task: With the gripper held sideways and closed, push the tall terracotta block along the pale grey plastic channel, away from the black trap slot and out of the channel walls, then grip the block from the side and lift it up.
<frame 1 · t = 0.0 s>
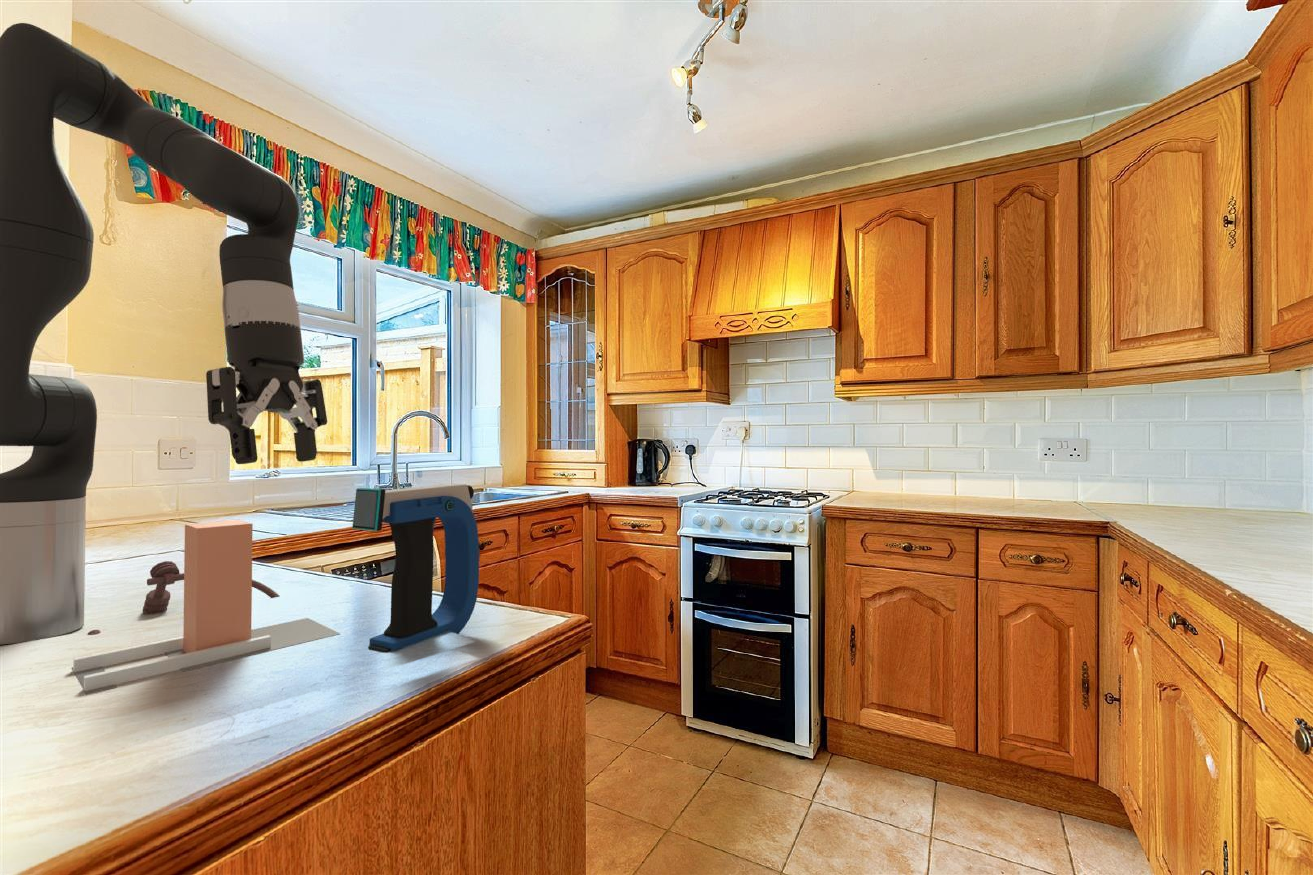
hand: (278, 462, 68), 22 cm above the counter, tool pointing down, fingers open, 8 cm apart
handheld scanner: (421, 648, 70), on the counter
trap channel: (227, 660, 65), on the counter
terracotta block: (217, 649, 64), point 1 cm above the counter, touching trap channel
toilet paper hanger: (179, 622, 81), on the counter
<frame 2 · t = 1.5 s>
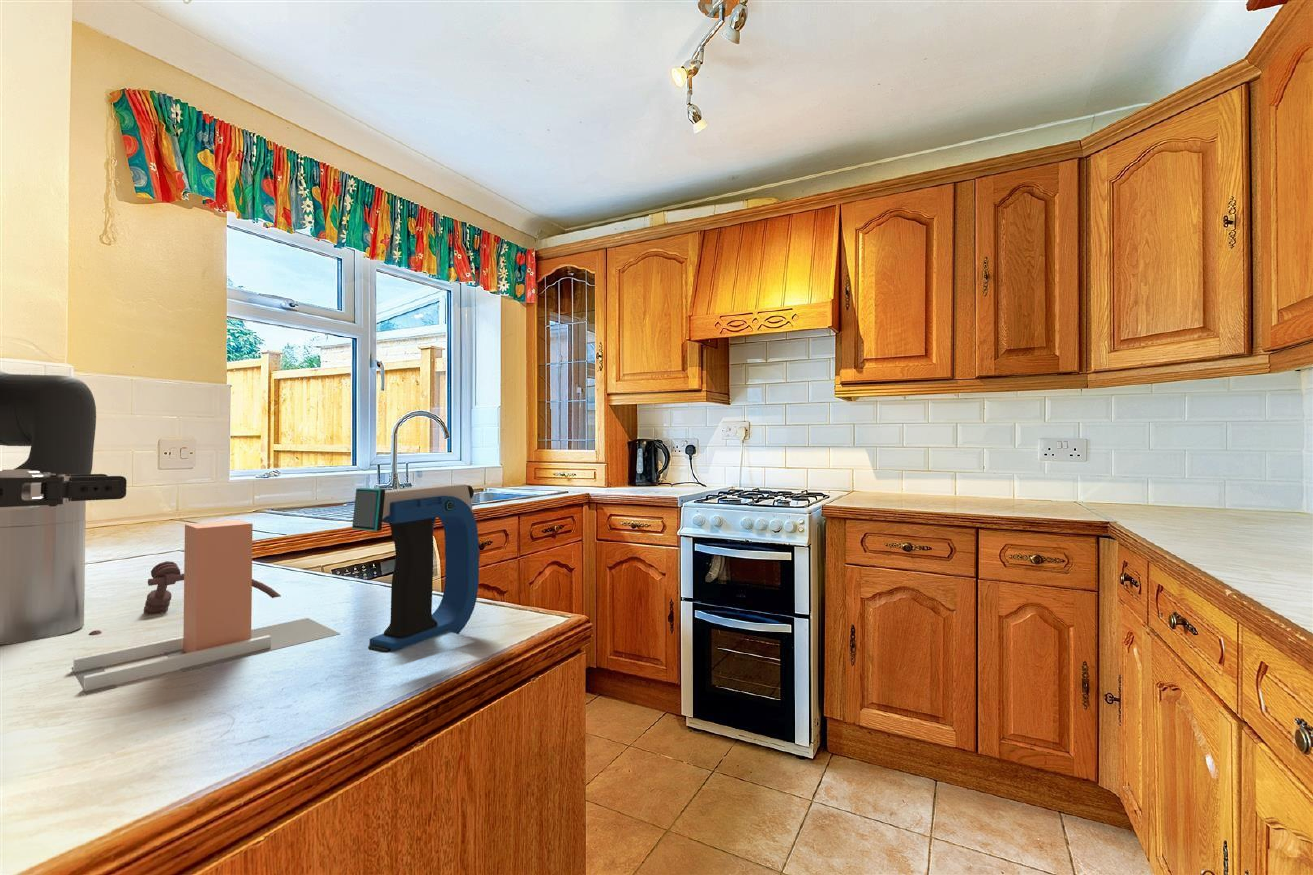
hand: (116, 485, 58), 20 cm above the counter, tool horizontal, fingers open, 8 cm apart
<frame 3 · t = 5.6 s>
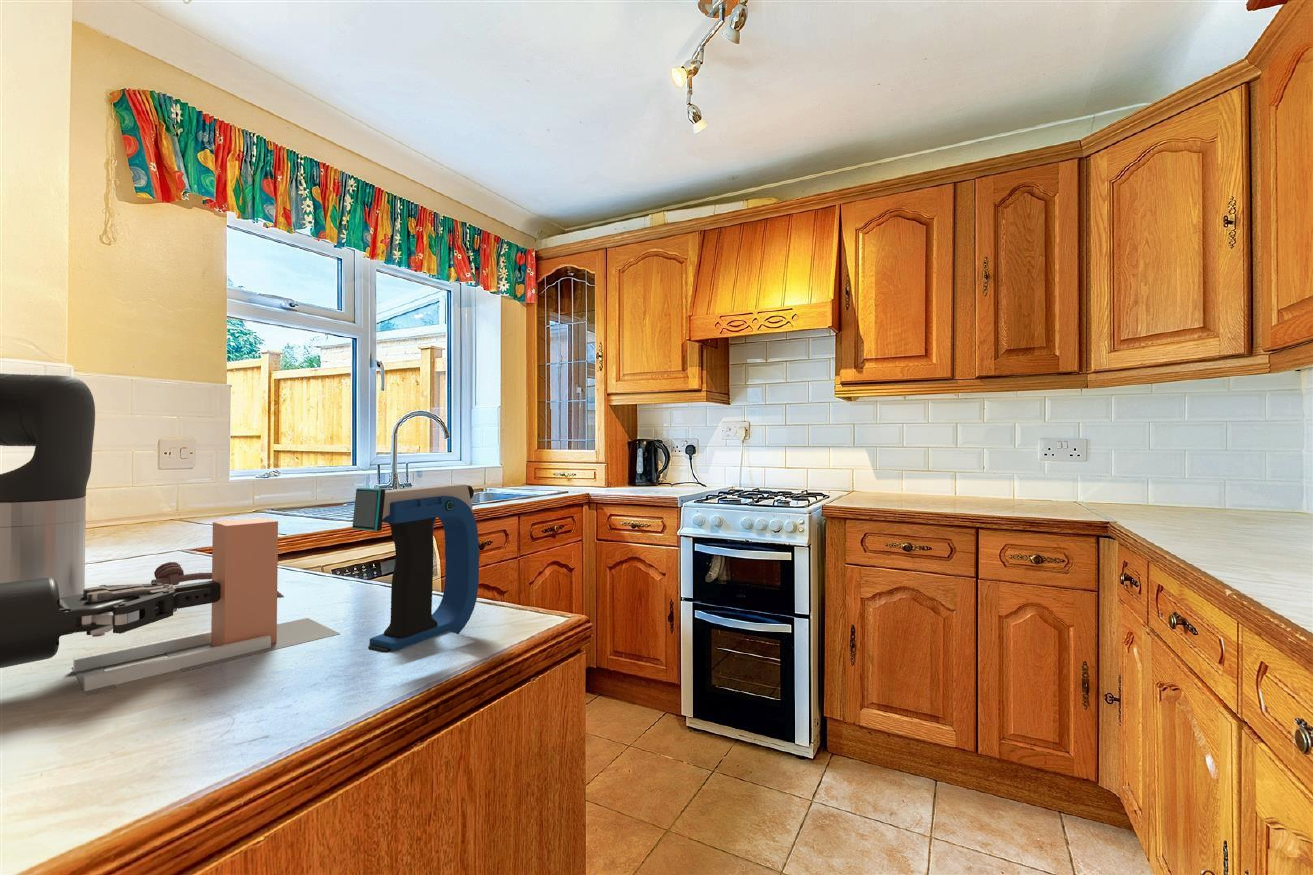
hand: (218, 590, 65), 8 cm above the counter, tool horizontal, fingers closed
terracotta block: (244, 643, 66), point 2 cm above the counter
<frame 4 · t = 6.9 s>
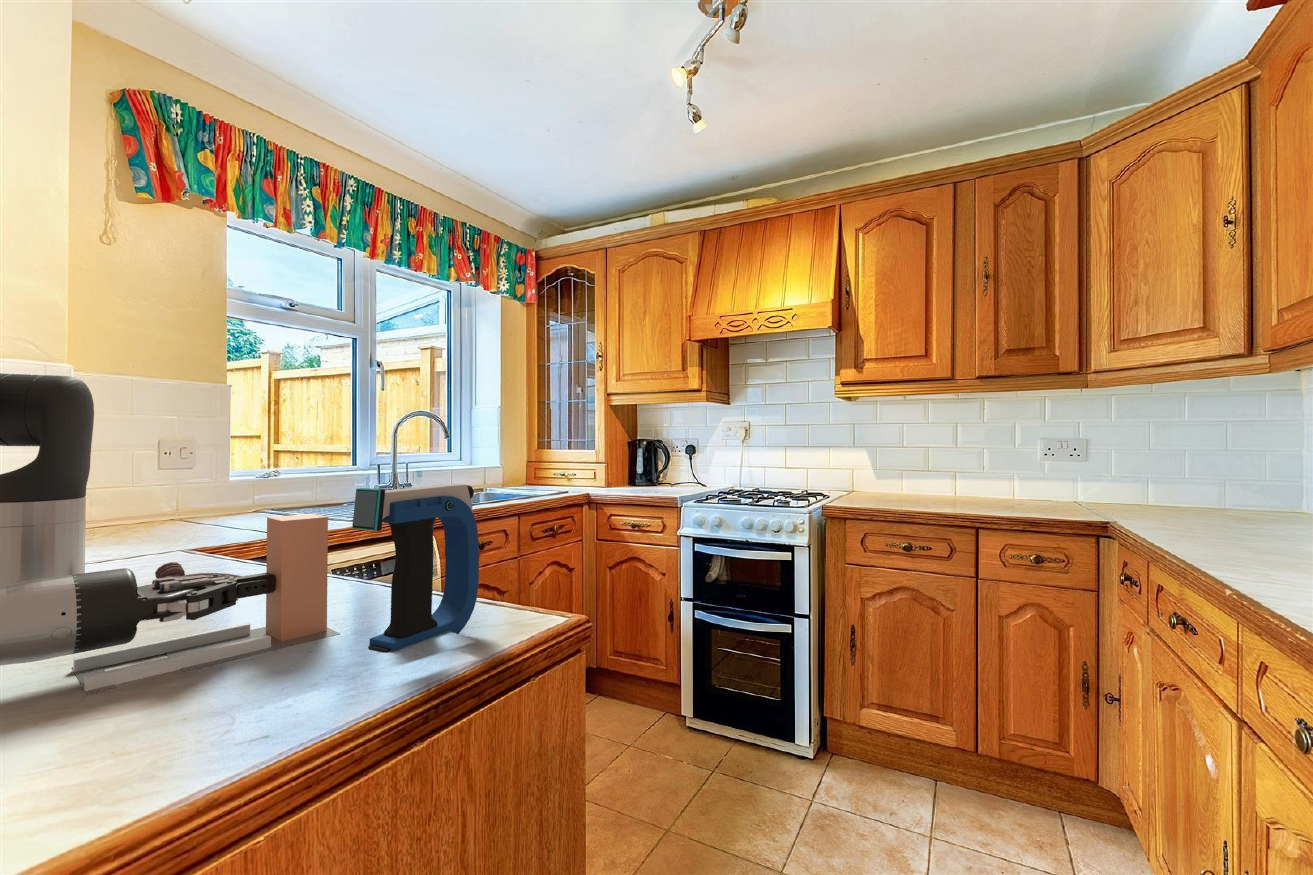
hand: (273, 581, 69), 8 cm above the counter, tool horizontal, fingers closed
terracotta block: (296, 631, 71), point 1 cm above the counter, touching gripper, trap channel
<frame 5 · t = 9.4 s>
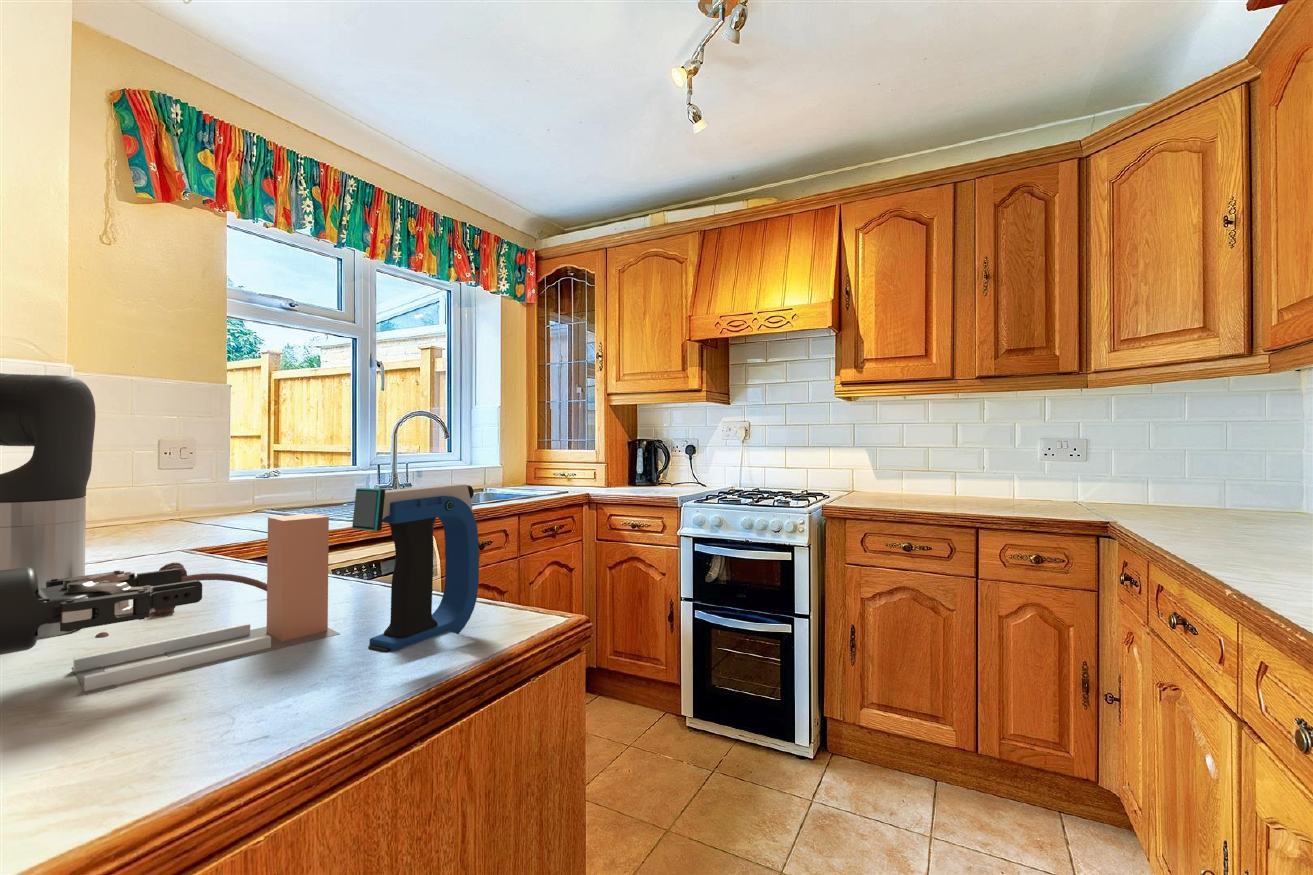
hand: (190, 584, 63), 9 cm above the counter, tool horizontal, fingers open, 8 cm apart
terracotta block: (297, 631, 71), point 1 cm above the counter, touching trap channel
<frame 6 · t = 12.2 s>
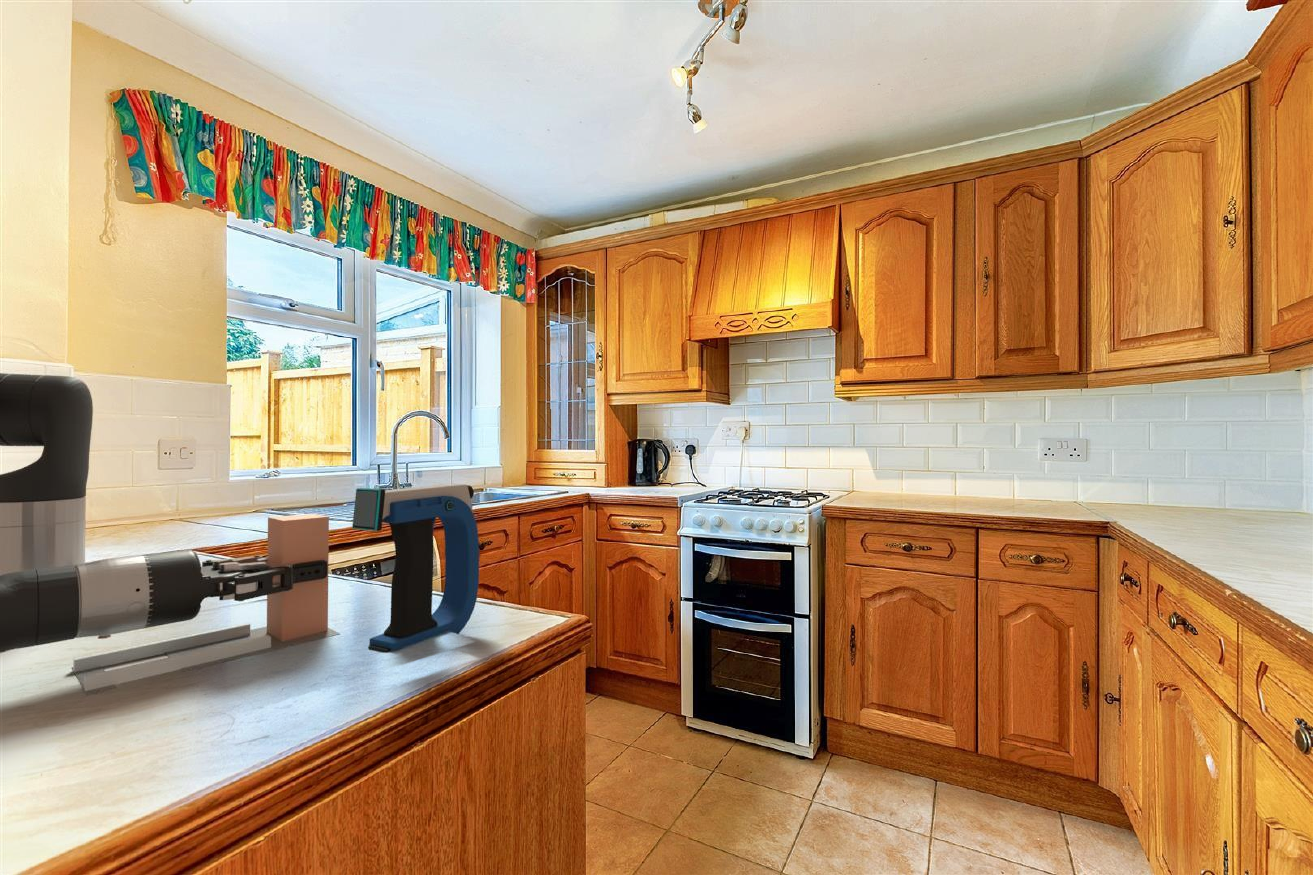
hand: (316, 565, 72), 9 cm above the counter, tool horizontal, fingers closed on terracotta block, 5 cm apart
terracotta block: (297, 631, 71), point 1 cm above the counter, touching gripper, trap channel
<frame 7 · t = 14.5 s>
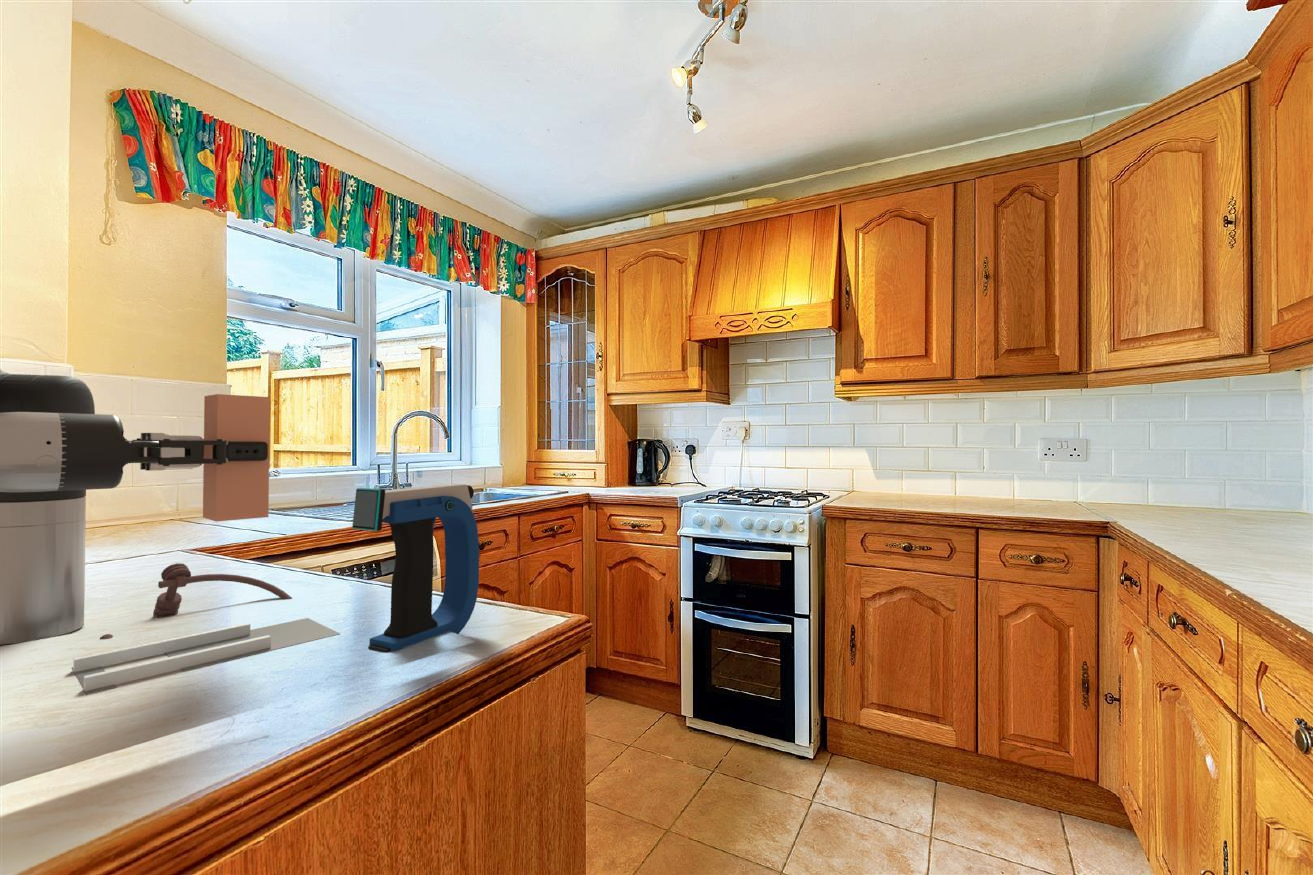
hand: (257, 450, 69), 24 cm above the counter, tool horizontal, fingers closed on terracotta block, 5 cm apart
terracotta block: (235, 517, 67), point 16 cm above the counter, touching gripper
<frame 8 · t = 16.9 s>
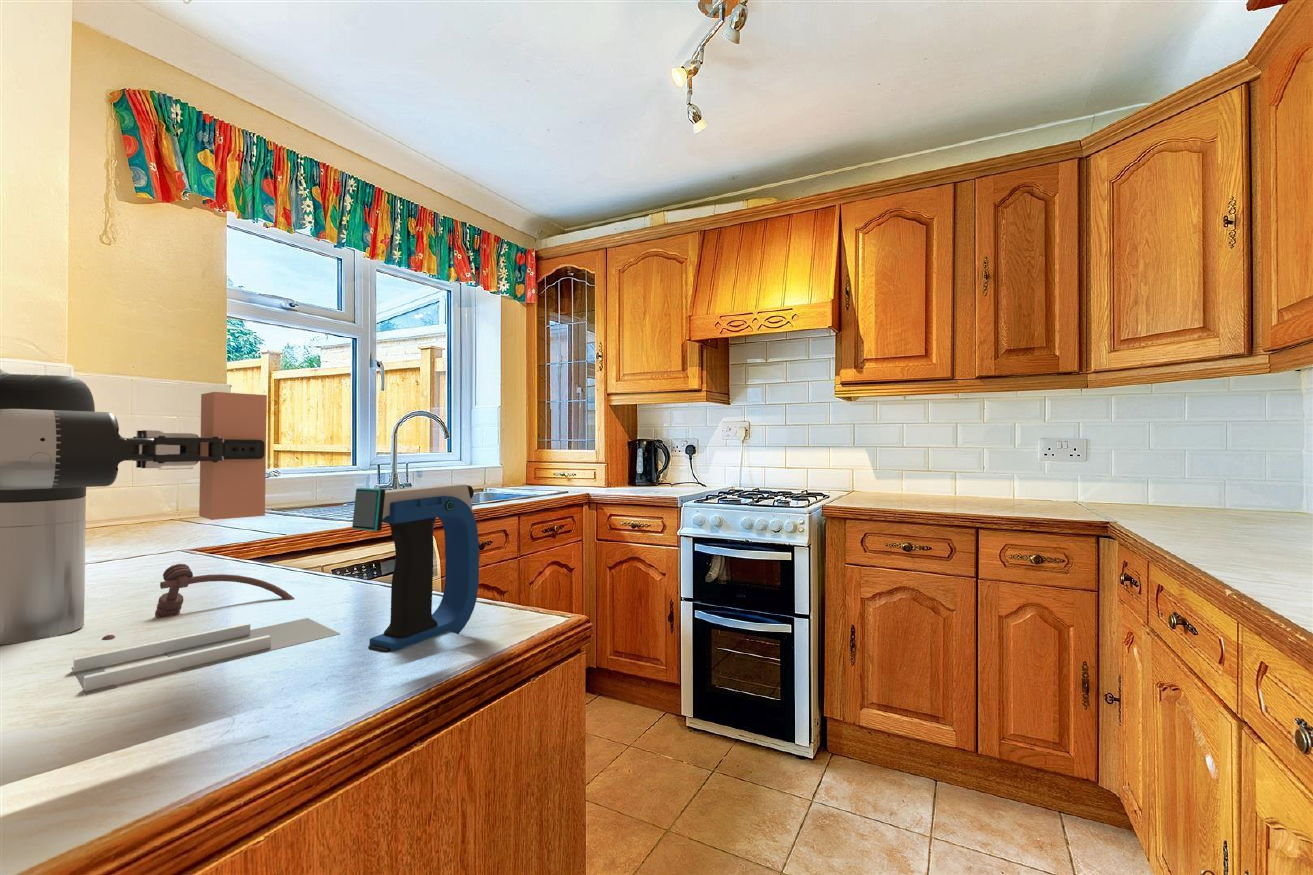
hand: (254, 449, 68), 24 cm above the counter, tool horizontal, fingers closed on terracotta block, 5 cm apart
terracotta block: (232, 515, 66), point 16 cm above the counter, touching gripper
at the end: the gripper is holding terracotta block; terracotta block point 16.2 cm above the counter; terracotta block tilted 0° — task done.
